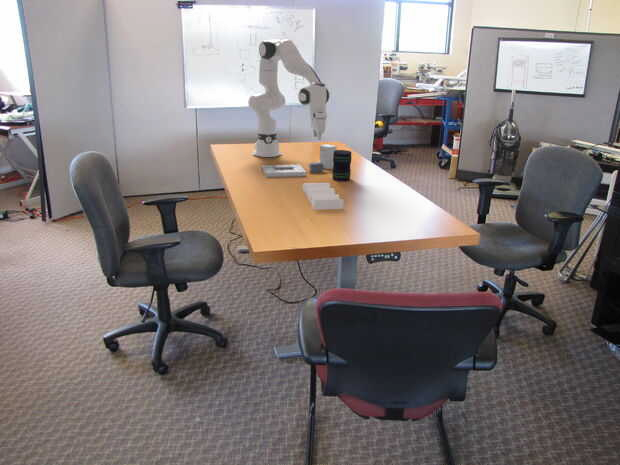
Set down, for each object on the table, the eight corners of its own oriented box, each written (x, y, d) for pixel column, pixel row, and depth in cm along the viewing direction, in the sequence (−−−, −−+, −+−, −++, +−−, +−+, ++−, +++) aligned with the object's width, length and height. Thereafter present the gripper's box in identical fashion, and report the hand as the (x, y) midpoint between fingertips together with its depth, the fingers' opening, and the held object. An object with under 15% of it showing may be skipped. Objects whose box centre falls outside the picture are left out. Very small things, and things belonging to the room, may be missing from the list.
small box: (336, 168, 302) (337, 146, 297) (328, 169, 298) (328, 147, 293) (327, 165, 308) (327, 143, 303) (319, 166, 304) (319, 145, 299)
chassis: (262, 169, 294) (262, 165, 293) (299, 168, 298) (299, 164, 297) (266, 177, 278) (266, 172, 277) (305, 176, 282) (305, 171, 281)
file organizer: (327, 188, 262) (327, 179, 260) (343, 210, 230) (343, 199, 228) (301, 189, 260) (302, 179, 258) (314, 211, 228) (314, 200, 226)
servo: (307, 171, 294) (307, 161, 292) (323, 170, 296) (323, 160, 294) (308, 172, 290) (309, 162, 288) (325, 172, 292) (325, 162, 290)
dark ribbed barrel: (351, 177, 282) (353, 150, 276) (348, 182, 273) (349, 154, 267) (334, 176, 284) (335, 149, 279) (330, 180, 275) (331, 152, 270)
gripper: (308, 110, 290) (307, 134, 295) (316, 115, 271) (315, 141, 276) (319, 110, 291) (318, 134, 296) (327, 115, 273) (326, 141, 277)
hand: (317, 138), depth 286 cm, fingers open, 8 cm apart
